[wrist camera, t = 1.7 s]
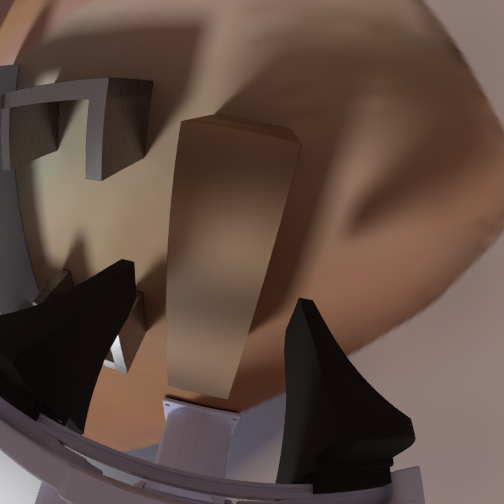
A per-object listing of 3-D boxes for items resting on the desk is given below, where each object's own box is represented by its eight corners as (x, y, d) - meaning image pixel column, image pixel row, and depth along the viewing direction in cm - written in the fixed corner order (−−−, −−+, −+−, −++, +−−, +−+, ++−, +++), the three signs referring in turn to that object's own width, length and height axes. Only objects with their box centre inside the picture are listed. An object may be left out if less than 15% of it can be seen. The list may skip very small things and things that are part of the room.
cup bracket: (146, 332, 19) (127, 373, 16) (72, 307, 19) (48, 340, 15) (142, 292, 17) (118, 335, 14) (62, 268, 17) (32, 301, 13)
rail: (237, 339, 19) (227, 399, 15) (187, 328, 19) (168, 385, 14) (291, 129, 12) (301, 144, 8) (215, 114, 12) (181, 121, 7)
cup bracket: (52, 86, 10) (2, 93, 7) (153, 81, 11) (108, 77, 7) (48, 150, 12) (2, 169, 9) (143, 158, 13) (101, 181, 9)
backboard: (77, 324, 20) (50, 366, 16) (38, 308, 20) (11, 343, 16) (57, 53, 9) (-7, 55, 5) (11, 66, 9) (-44, 75, 5)
